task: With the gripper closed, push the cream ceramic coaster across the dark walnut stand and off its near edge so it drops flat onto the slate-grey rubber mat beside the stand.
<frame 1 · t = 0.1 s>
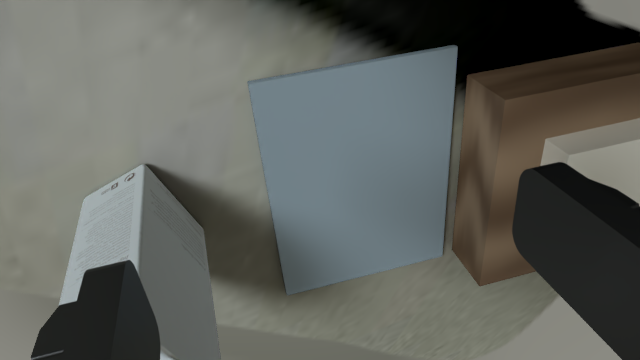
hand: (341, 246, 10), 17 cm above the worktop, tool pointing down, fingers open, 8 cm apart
stand: (537, 155, 33), on the worktop
skincare box: (150, 211, 28), on the worktop
coaster: (590, 181, 30), point 4 cm above the worktop, touching stand
mat: (360, 182, 31), on the worktop
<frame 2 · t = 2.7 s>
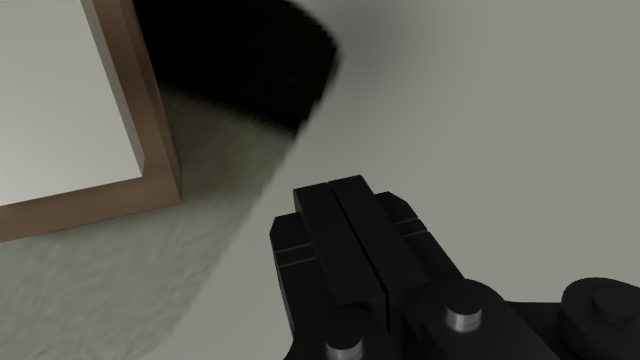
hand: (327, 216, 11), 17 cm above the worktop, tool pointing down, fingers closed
stand: (21, 69, 23), on the worktop
coaster: (20, 93, 20), point 4 cm above the worktop, touching stand
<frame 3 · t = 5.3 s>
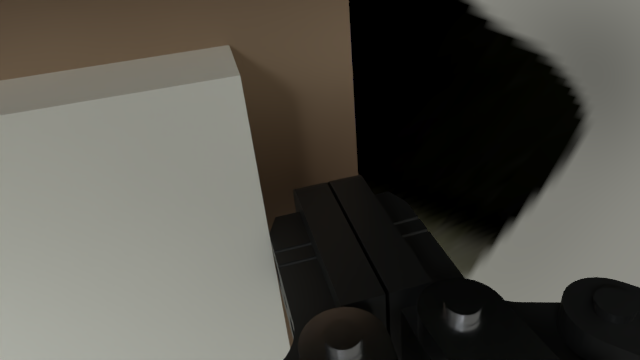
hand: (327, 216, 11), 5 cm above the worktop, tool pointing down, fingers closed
stand: (123, 166, 14), on the worktop
coaster: (84, 251, 11), point 4 cm above the worktop, touching gripper, stand
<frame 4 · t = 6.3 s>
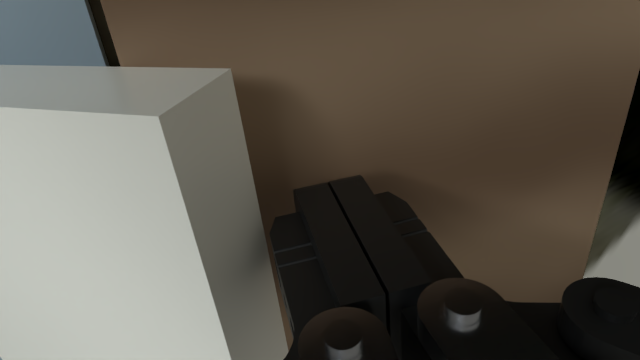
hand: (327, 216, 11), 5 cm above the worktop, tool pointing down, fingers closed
stand: (364, 122, 15), on the worktop
coaster: (120, 227, 11), point 3 cm above the worktop, tilted 34°
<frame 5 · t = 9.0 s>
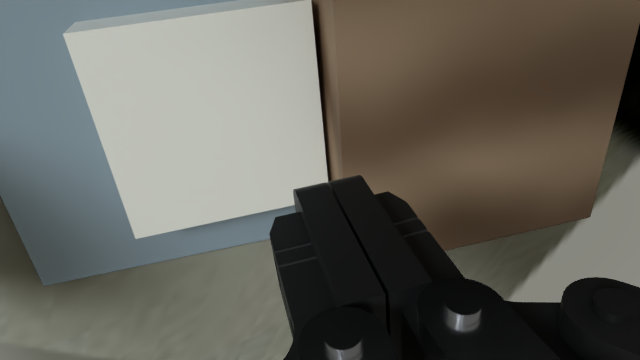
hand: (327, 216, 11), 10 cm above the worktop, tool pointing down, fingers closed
stand: (442, 67, 21), on the worktop
coaster: (213, 109, 19), resting on mat
mat: (137, 89, 18), on the worktop
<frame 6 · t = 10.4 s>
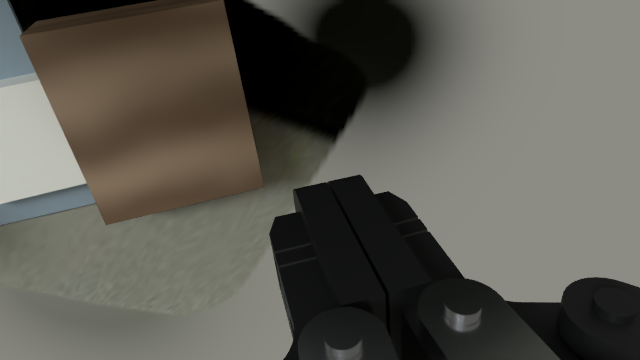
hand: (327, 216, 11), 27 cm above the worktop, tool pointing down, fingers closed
stand: (161, 101, 35), on the worktop
coaster: (16, 135, 34), resting on mat
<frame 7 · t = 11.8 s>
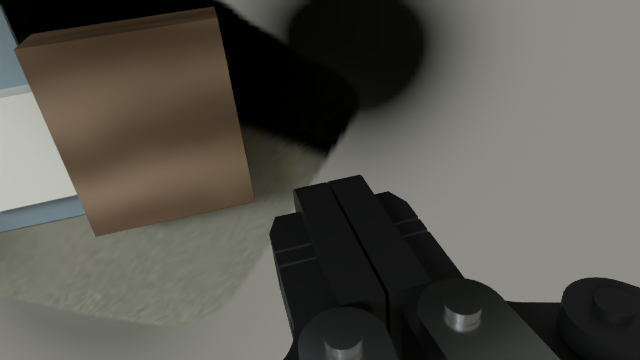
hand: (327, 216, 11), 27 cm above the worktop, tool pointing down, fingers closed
stand: (154, 114, 36), on the worktop
coaster: (8, 145, 34), resting on mat
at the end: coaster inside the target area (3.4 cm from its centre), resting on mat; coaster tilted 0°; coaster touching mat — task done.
